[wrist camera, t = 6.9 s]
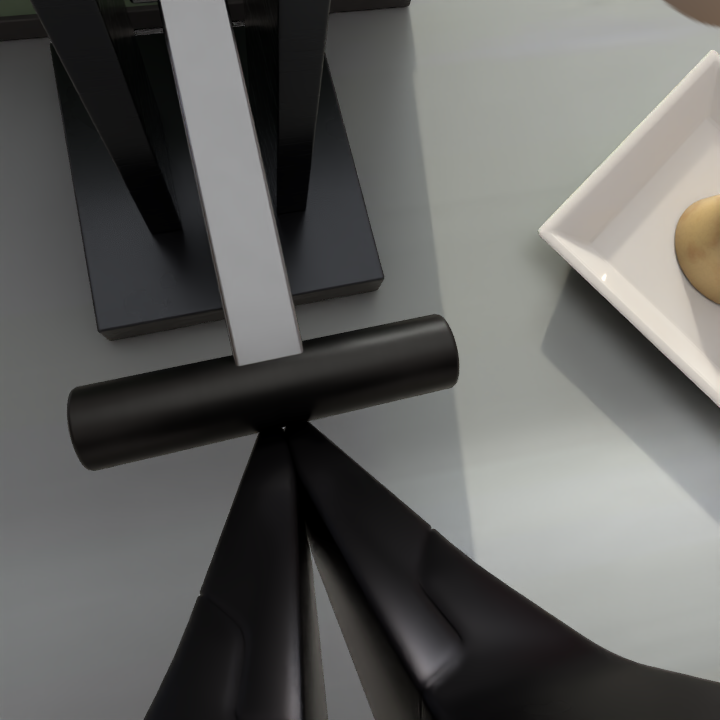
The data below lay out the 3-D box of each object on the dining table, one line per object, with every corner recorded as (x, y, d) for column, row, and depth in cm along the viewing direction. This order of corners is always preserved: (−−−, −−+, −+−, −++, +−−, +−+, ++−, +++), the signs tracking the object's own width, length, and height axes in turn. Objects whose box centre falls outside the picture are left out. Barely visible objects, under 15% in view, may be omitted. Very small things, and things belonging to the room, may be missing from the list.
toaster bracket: (378, 290, 19) (533, 14, 8) (109, 341, 17) (-214, 84, 6) (314, 44, 21) (362, -486, 9) (62, 68, 19) (-262, -548, 7)
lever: (432, 389, 11) (480, 384, 8) (112, 463, 9) (63, 482, 7) (311, -140, 11) (325, -286, 9) (-9, -130, 10) (-93, -296, 8)
